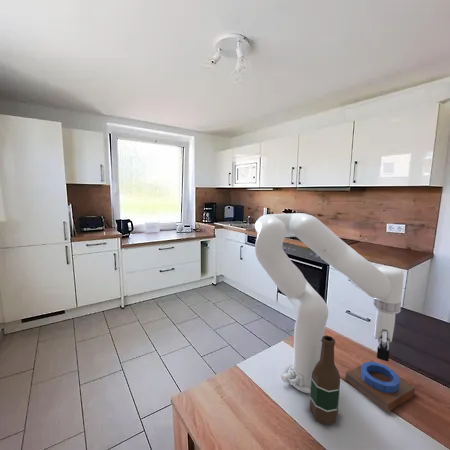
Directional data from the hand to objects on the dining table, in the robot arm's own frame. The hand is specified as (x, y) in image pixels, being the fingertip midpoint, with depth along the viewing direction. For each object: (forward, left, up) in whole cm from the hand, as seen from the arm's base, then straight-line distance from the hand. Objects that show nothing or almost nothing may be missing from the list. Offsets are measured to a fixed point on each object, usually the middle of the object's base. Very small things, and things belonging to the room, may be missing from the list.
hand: (383, 351), depth 83 cm
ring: (-4, -2, -8) cm, 9 cm away
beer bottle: (-28, -1, -11) cm, 30 cm away
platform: (-4, -2, -11) cm, 12 cm away
